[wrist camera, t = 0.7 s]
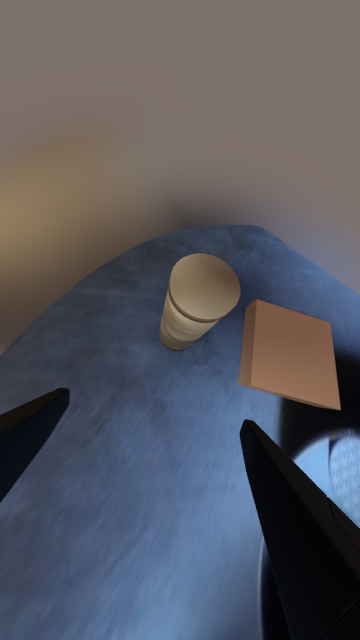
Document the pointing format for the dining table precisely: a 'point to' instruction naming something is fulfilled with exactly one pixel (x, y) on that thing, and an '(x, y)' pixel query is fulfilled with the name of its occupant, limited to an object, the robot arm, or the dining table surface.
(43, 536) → the dining table surface
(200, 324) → the birch column
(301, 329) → the terracotta plinth
